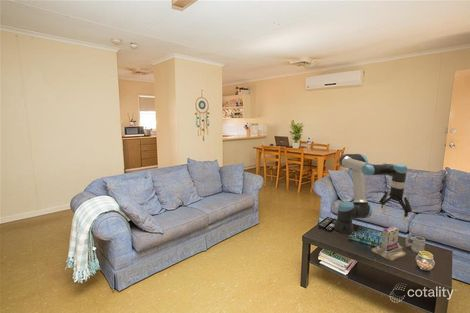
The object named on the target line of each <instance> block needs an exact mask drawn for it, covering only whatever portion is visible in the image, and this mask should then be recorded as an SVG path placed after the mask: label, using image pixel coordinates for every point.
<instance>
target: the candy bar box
mask: <svg viewBox="0 0 470 313" xmlns="http://www.w3.org/2000/svg"><path fill="white" fill-rule="evenodd" d="M399 234H400V228H397V227H395V226H393V225H392V226H388V227H386V228H383V229H382V235H381V244H380V245H381V249H383V250H385V251H387V252H388V251H391V250H393V249H396V248H397V245H398V242H399V240H398V239H399Z"/></svg>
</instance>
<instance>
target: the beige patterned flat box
mask: <svg viewBox="0 0 470 313" xmlns="http://www.w3.org/2000/svg"><path fill="white" fill-rule="evenodd" d="M403 248H404V247H403V246H401V245H398V244H397V248H396V249H393V250H391V251H388V252H387V251H385V250H383V249H381V244H379V245H376V246H375V247H373V248H371V252H373V253H375V254H377V255H379V256H381V257H382V258H384V259H387V261H388V260H389V262H390V261H391V262H393V261H396V260H398V259H399V258H403V257H405V256H406V255H407V253H406V252H405V251H403Z"/></svg>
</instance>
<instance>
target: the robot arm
mask: <svg viewBox="0 0 470 313" xmlns="http://www.w3.org/2000/svg"><path fill="white" fill-rule="evenodd" d="M338 163H339V166H340V167H342V168H345V169H348V168H349V170H350V172H352V173H351V174H352V183H353V184H352V185H353V186H352V187H353V195H354V196H353V198H354V200H353V201H352V202H351V201H341V202H340V203H338V206H337V216H336V221H335V223H334V225H333V229H334V230H335V231H336V232H338V233H340V234H347V235H350V234H353V233H354V230H355V229H354V225H353V220H354V219H369V218H370V217H371V216H372V214H373V206H372V205H371V204H370V203H369V201H368V200H367V199H366V186H365V177H364V175H365V176H388V177H391V184H390V185H391V186H390V190H387V191H385V192H384V194H383V196H382V197H381V198H380V200H379V201H378V202H379V203H380V204H381V210H382V211H381V214H382V215H383V214H386V209H387V203H389V202H390V201H391V200H392V201H395V202H398V203H399V204H400V206H401V208H402V209H403V211H402V212H403V213H402V219H401V221H402V222H405V221H406V220H407V219H406V218H407V217H408V216H409V213H412V212H413V209H412V207H411V204H410V201H409V196H404V192H405V187H406V186H405V184H406V181H407V180H406V178H407V172H408V166H407V165H406V164H402V163H395V164H389V163H386V162H385V163H384V162H383V163H382V164H375V163H374V164H372V163H369V162H368V158H367V156H366V155H364V154H362V153H346V154H345V153H344V154H341V155H340V157H339V158H338ZM389 191H390V192H389ZM388 196H389V197H388ZM352 232H353V233H352Z"/></svg>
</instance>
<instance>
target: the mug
mask: <svg viewBox="0 0 470 313" xmlns="http://www.w3.org/2000/svg"><path fill="white" fill-rule="evenodd" d="M410 239H413V240H412V242H411V243H410V242H409V240H410ZM404 243H405V246H406V247H411V251H412V252H413V253H416V254H419V253H418V252H419V251H425V246H426V239H425V238H424V237H421V236H418V235H415V236H412V233H411V232H409V233H408V235H407V236H406V238H405V242H404Z"/></svg>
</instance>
